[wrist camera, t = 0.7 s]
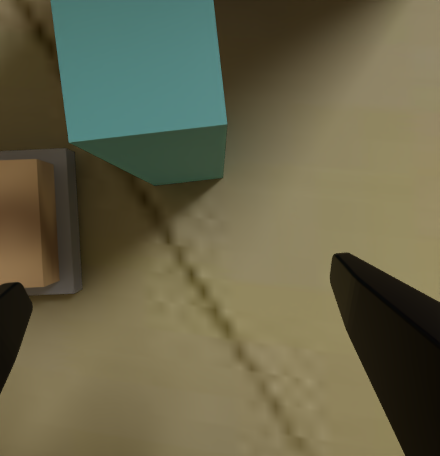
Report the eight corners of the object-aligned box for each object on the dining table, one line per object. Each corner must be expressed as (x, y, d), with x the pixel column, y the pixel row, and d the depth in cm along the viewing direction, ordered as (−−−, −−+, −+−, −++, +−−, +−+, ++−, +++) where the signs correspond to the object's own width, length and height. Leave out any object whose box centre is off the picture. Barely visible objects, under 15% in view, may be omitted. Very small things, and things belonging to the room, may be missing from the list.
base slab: (86, 287, 24) (74, 293, 22) (-46, 293, 24) (-71, 299, 22) (79, 154, 24) (65, 148, 22) (-56, 160, 23) (-81, 154, 22)
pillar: (223, 177, 23) (227, 124, 10) (154, 185, 23) (68, 142, 10) (215, 108, 23) (208, -39, 10) (146, 116, 23) (48, -20, 10)
